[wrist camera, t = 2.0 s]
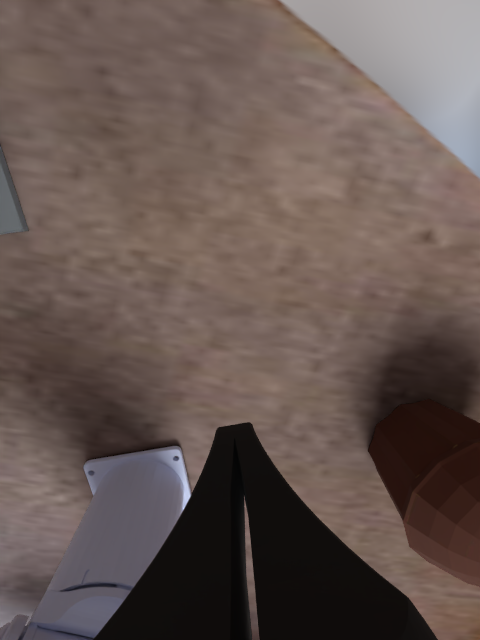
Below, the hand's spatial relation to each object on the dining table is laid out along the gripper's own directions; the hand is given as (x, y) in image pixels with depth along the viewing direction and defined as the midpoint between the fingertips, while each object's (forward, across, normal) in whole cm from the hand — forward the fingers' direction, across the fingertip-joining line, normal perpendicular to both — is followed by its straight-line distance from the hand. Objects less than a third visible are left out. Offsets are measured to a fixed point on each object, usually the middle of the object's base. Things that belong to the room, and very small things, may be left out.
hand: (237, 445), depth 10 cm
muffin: (+11, -16, +12) cm, 22 cm away
